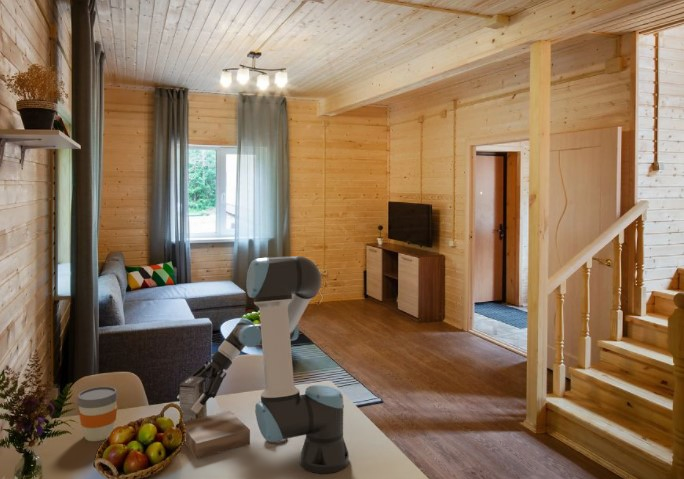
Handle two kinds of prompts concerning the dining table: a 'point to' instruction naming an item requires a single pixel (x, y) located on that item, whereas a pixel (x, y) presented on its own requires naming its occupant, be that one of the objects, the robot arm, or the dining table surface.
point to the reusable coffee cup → (97, 412)
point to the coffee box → (192, 397)
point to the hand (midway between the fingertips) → (186, 405)
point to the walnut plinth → (215, 434)
